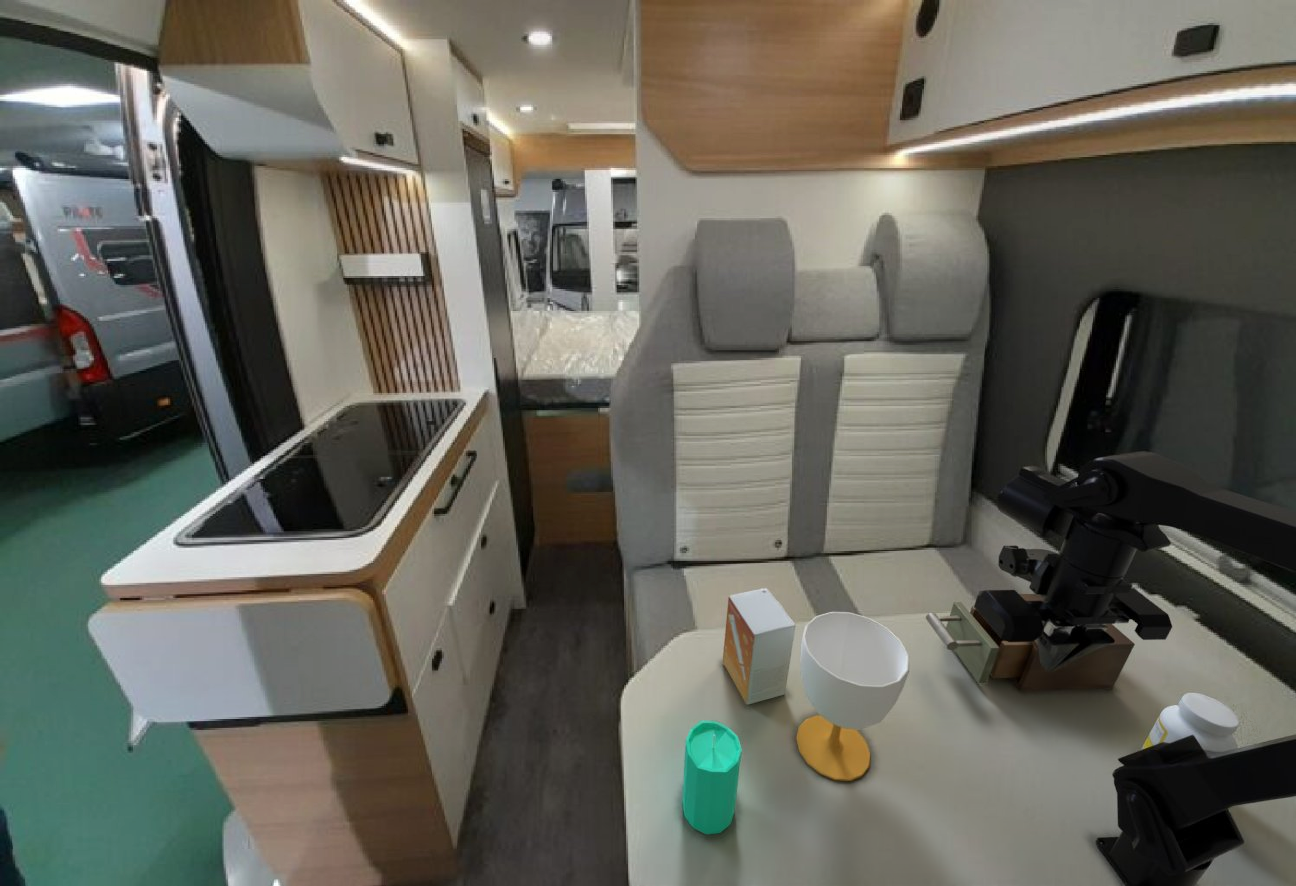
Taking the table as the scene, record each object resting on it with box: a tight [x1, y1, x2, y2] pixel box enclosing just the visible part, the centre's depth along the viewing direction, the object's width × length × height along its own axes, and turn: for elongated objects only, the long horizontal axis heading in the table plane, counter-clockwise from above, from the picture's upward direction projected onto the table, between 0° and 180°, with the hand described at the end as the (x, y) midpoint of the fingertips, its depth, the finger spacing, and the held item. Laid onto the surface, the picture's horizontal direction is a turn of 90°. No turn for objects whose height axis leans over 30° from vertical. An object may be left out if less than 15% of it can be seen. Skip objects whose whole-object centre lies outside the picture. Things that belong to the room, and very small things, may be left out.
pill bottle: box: [1140, 692, 1240, 752], centre depth 63 cm, size 6×6×12 cm
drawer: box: [925, 601, 1033, 685], centre depth 80 cm, size 18×9×7 cm, turn 92°
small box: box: [722, 587, 797, 706], centre depth 76 cm, size 8×6×13 cm
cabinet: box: [1010, 593, 1136, 692], centre depth 80 cm, size 14×11×9 cm
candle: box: [681, 720, 743, 835], centre depth 59 cm, size 6×6×12 cm
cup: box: [795, 611, 910, 782], centre depth 65 cm, size 12×12×17 cm
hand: (1046, 668), depth 64 cm, fingers closed
